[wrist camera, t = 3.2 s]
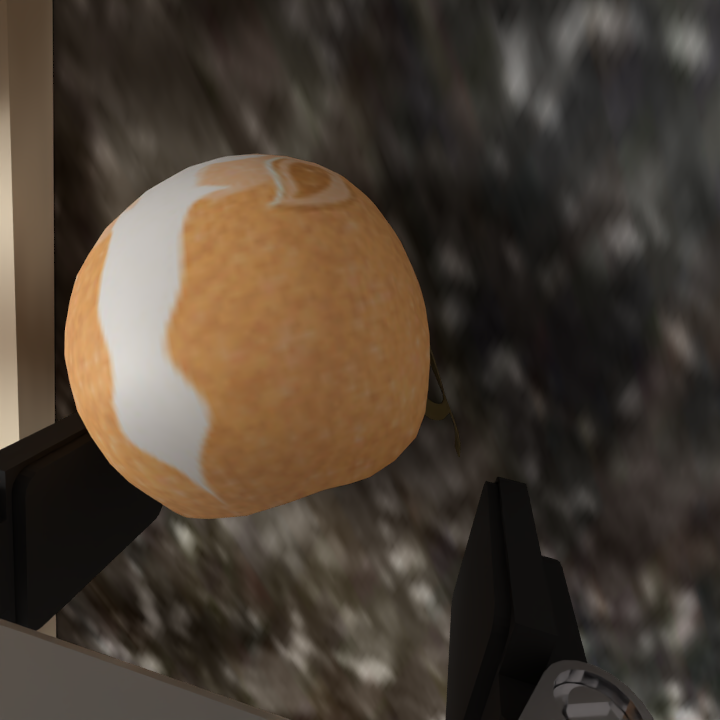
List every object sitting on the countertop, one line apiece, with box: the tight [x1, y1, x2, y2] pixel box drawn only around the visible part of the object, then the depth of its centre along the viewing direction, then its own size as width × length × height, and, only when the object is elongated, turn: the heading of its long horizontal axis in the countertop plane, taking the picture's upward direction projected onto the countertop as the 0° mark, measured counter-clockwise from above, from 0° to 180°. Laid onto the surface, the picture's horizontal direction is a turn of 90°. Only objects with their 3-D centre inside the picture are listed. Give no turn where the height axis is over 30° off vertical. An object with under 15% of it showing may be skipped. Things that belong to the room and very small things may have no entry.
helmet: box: [64, 154, 460, 519], centre depth 10 cm, size 6×7×8 cm
